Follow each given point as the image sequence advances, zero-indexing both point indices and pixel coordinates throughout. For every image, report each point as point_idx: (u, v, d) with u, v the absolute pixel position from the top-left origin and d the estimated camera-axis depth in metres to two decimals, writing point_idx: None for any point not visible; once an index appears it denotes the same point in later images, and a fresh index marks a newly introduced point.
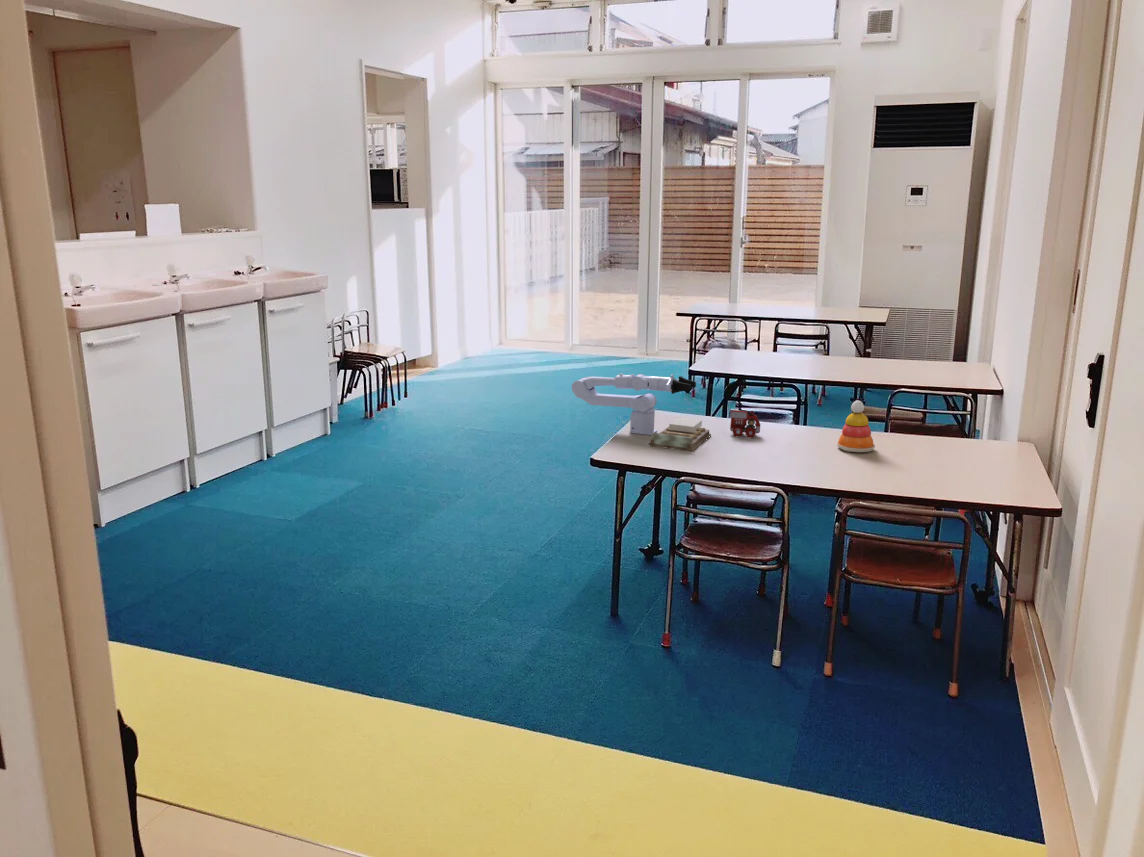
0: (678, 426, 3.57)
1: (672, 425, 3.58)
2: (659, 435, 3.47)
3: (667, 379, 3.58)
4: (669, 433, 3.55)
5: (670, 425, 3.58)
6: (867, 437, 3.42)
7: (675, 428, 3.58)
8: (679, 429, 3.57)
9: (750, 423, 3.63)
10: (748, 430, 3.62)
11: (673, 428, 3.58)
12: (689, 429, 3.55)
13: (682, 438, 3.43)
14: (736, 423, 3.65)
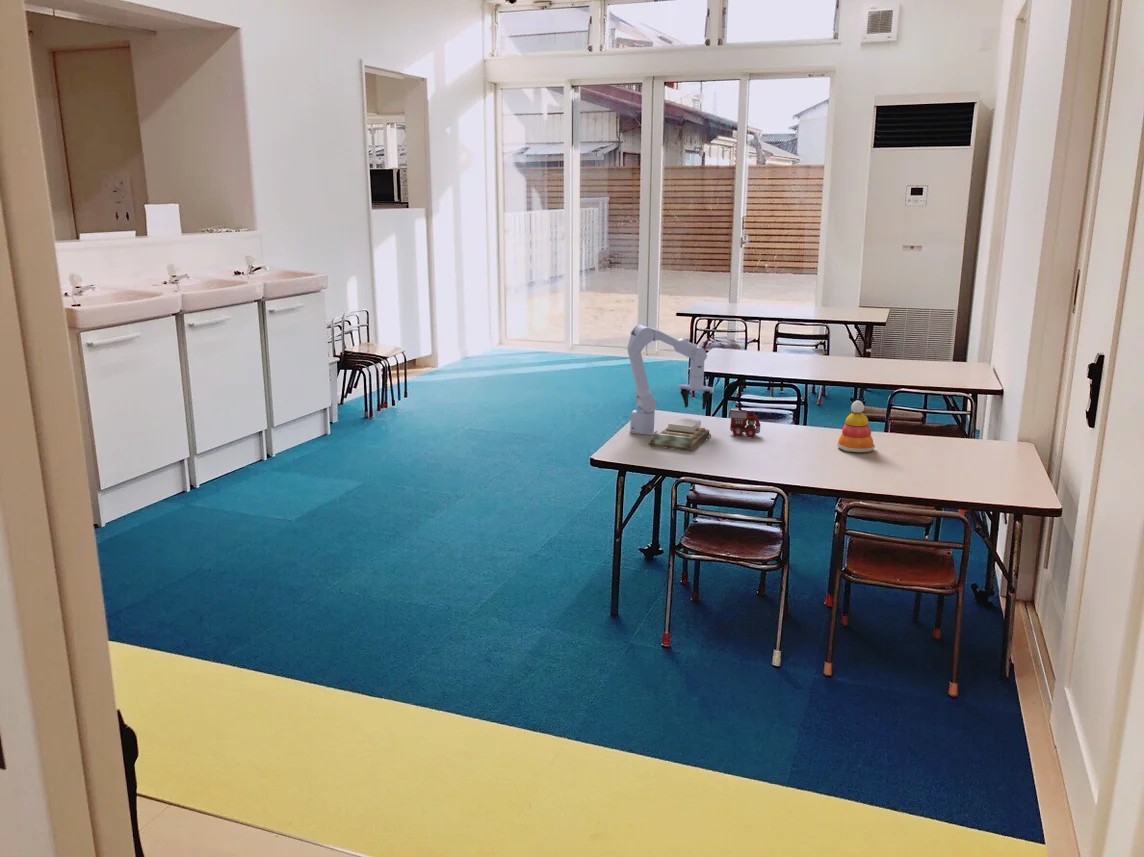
0: (677, 426, 3.57)
1: (671, 425, 3.58)
2: (659, 435, 3.47)
3: None
4: (669, 433, 3.55)
5: (669, 425, 3.58)
6: (867, 437, 3.42)
7: (674, 428, 3.58)
8: (678, 429, 3.57)
9: (750, 423, 3.63)
10: (748, 430, 3.62)
11: (672, 428, 3.58)
12: (688, 429, 3.55)
13: (682, 438, 3.43)
14: (736, 423, 3.65)
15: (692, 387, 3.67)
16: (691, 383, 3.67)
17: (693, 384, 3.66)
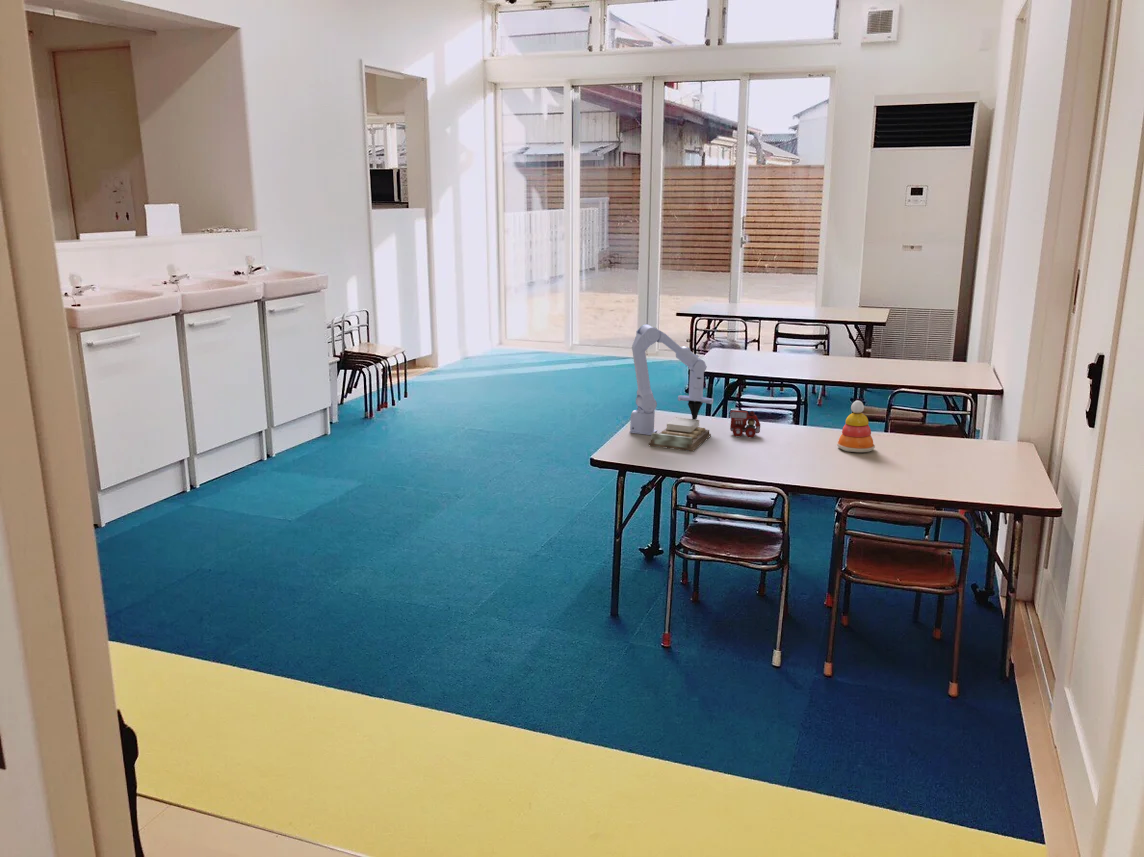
0: (675, 426, 3.57)
1: (669, 425, 3.58)
2: (659, 435, 3.47)
3: None
4: (669, 433, 3.55)
5: (667, 425, 3.59)
6: (867, 437, 3.42)
7: (672, 428, 3.58)
8: (676, 429, 3.57)
9: (750, 423, 3.63)
10: (748, 430, 3.62)
11: (670, 428, 3.58)
12: (687, 429, 3.56)
13: (682, 438, 3.43)
14: (736, 423, 3.65)
15: (691, 398, 3.68)
16: (690, 394, 3.68)
17: (692, 395, 3.68)
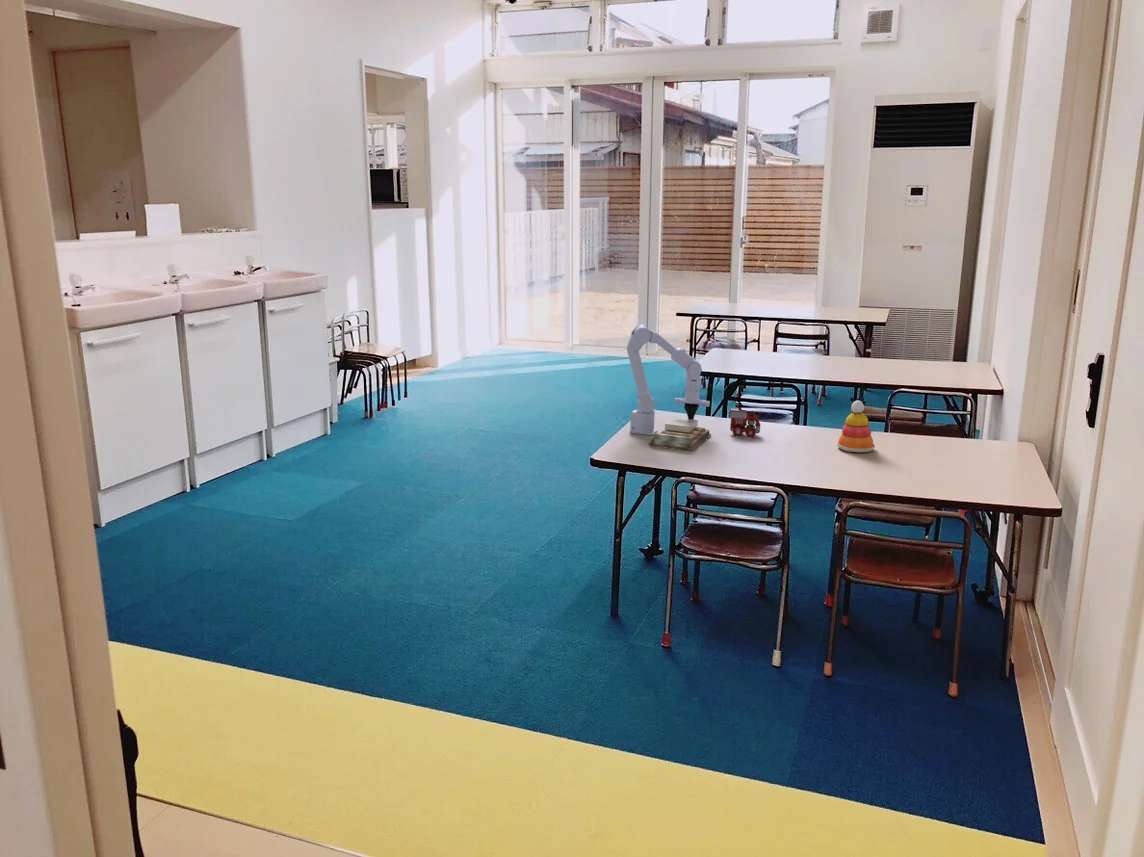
0: (674, 426, 3.57)
1: (668, 425, 3.58)
2: (659, 435, 3.47)
3: None
4: (669, 433, 3.55)
5: (666, 425, 3.58)
6: (867, 437, 3.42)
7: (671, 428, 3.58)
8: (675, 429, 3.57)
9: (750, 423, 3.63)
10: (748, 430, 3.62)
11: (669, 428, 3.58)
12: (685, 429, 3.55)
13: (682, 438, 3.43)
14: (736, 423, 3.65)
15: (688, 401, 3.63)
16: (687, 397, 3.64)
17: (689, 398, 3.63)
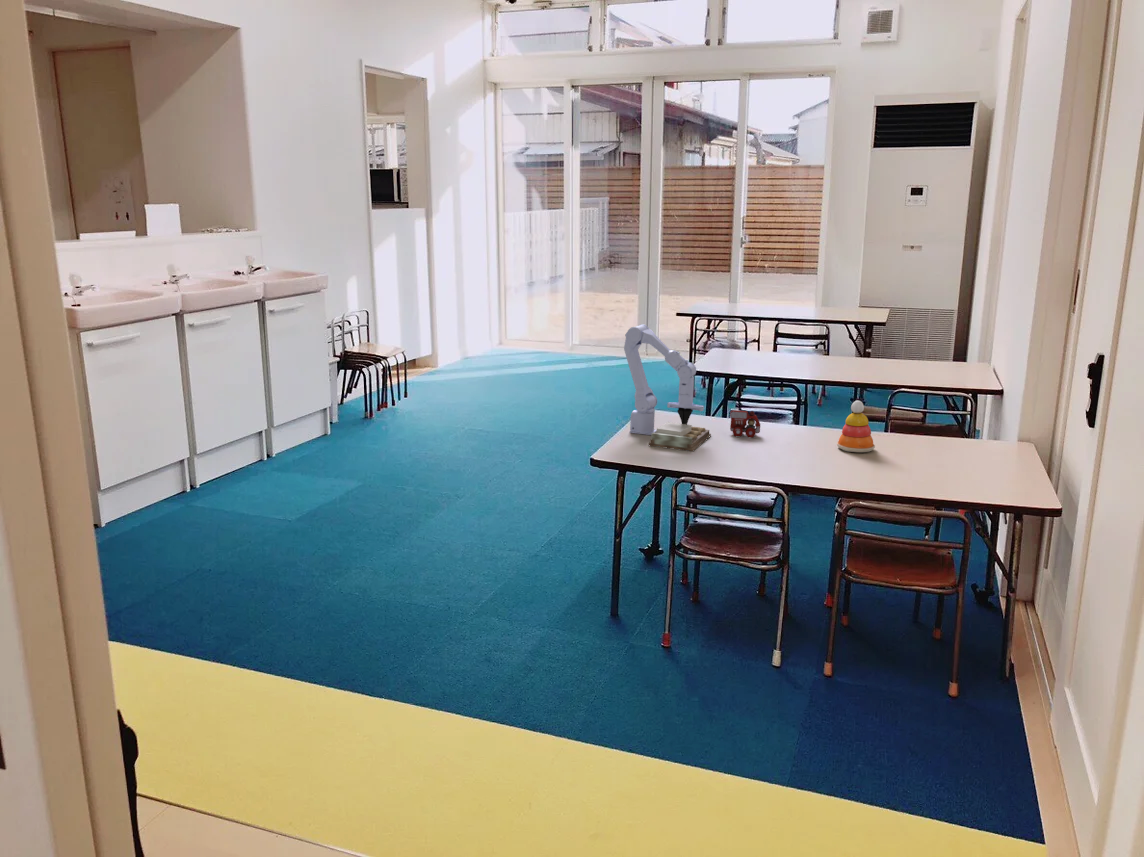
0: (665, 431, 3.50)
1: (659, 429, 3.51)
2: (659, 435, 3.47)
3: None
4: None
5: (657, 429, 3.51)
6: (867, 437, 3.42)
7: (662, 433, 3.50)
8: None
9: (750, 423, 3.63)
10: (748, 430, 3.62)
11: (660, 433, 3.51)
12: (676, 434, 3.48)
13: (682, 438, 3.43)
14: (736, 423, 3.65)
15: (681, 405, 3.56)
16: (680, 401, 3.56)
17: (682, 402, 3.55)
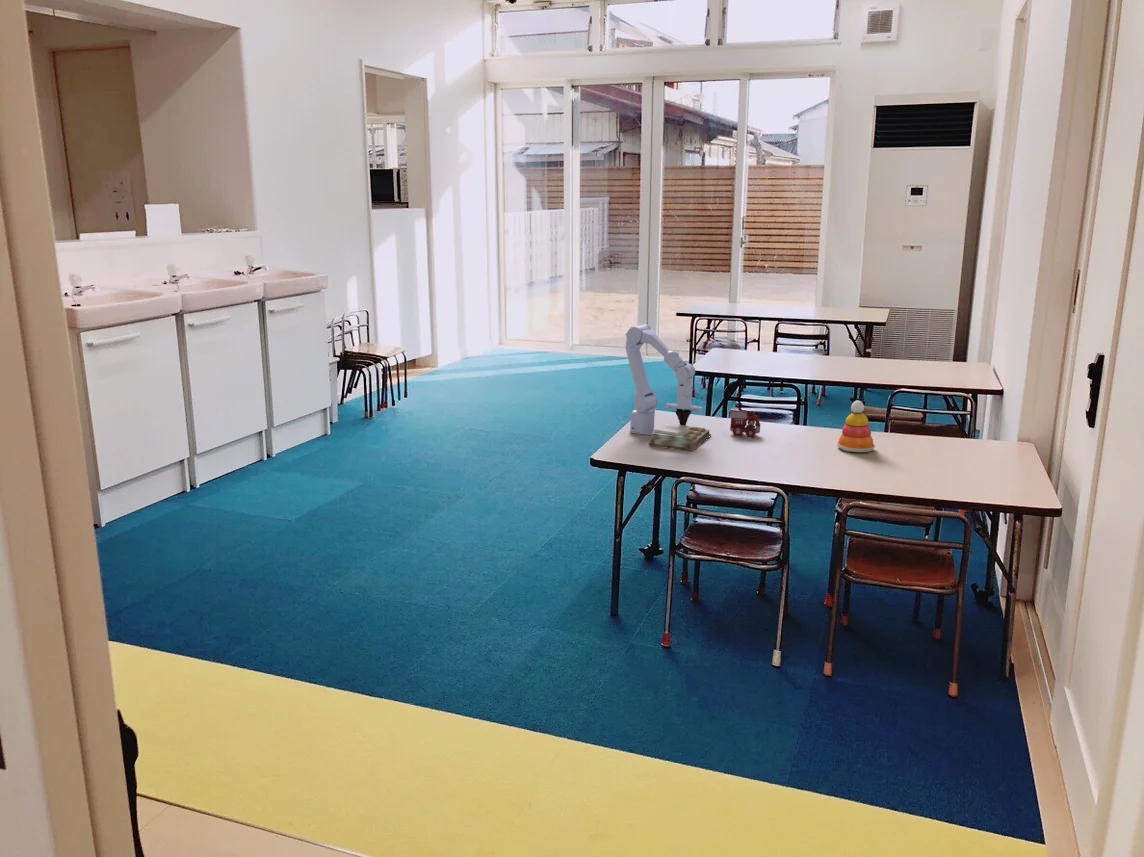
0: (663, 432, 3.48)
1: (657, 431, 3.49)
2: (659, 435, 3.47)
3: None
4: None
5: (655, 431, 3.50)
6: (867, 437, 3.42)
7: None
8: None
9: (750, 423, 3.63)
10: (748, 430, 3.62)
11: None
12: None
13: (682, 438, 3.43)
14: (736, 423, 3.65)
15: (680, 406, 3.54)
16: (679, 402, 3.54)
17: (681, 403, 3.53)
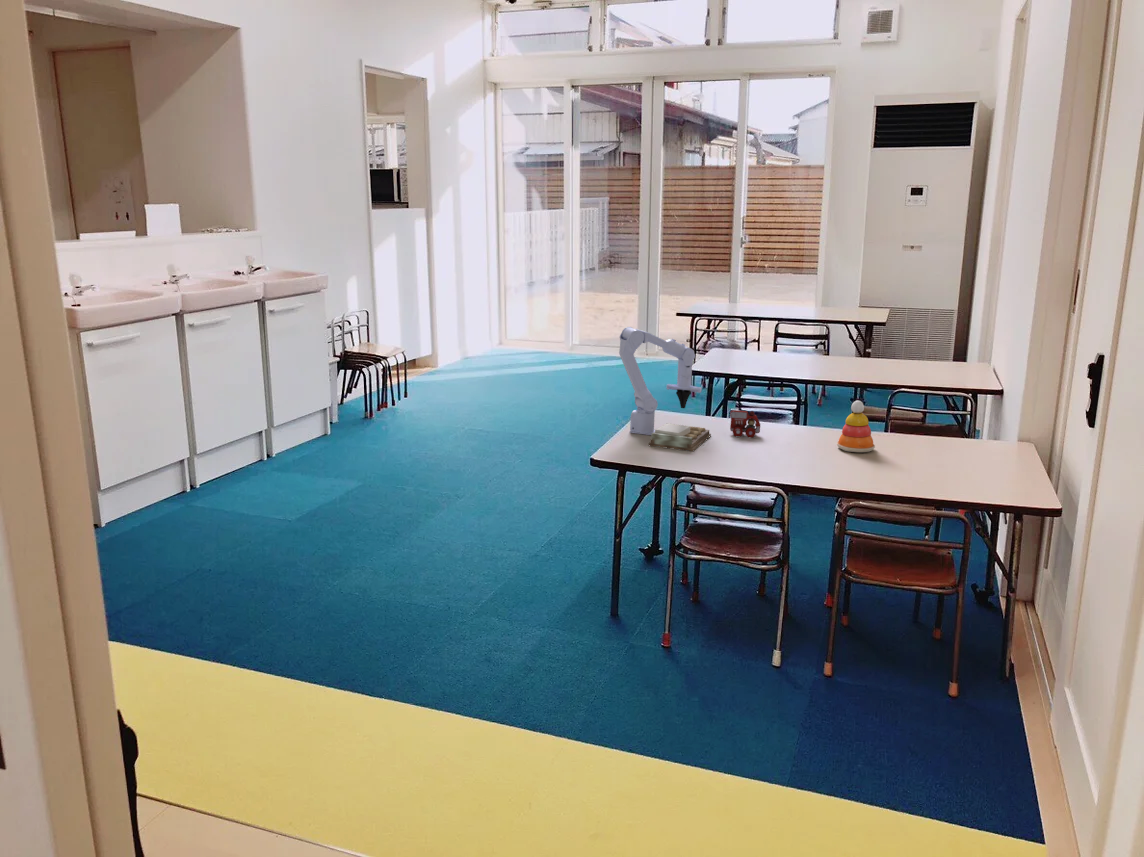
0: (664, 432, 3.48)
1: (658, 431, 3.49)
2: (659, 435, 3.47)
3: None
4: None
5: (656, 431, 3.49)
6: (867, 437, 3.42)
7: None
8: None
9: (750, 423, 3.63)
10: (748, 430, 3.62)
11: None
12: None
13: (682, 438, 3.43)
14: (736, 423, 3.65)
15: (680, 387, 3.68)
16: (679, 383, 3.68)
17: (681, 384, 3.67)
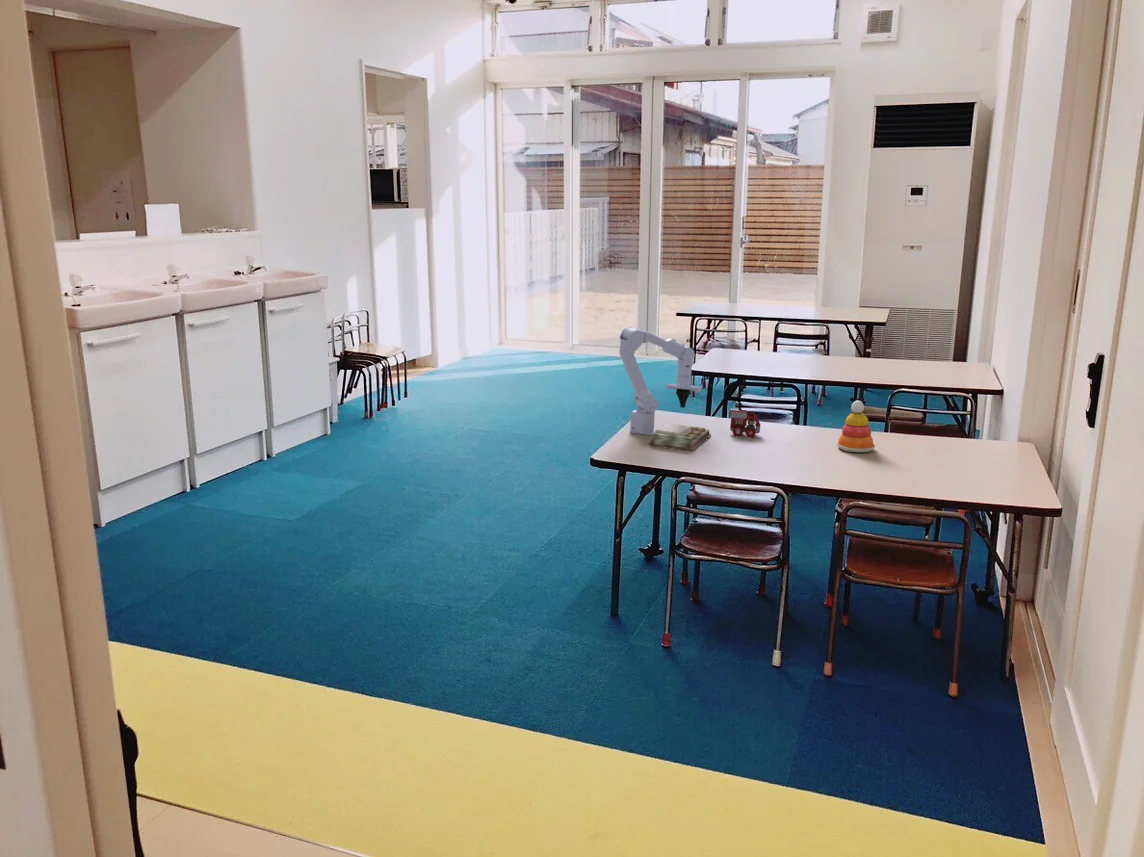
0: (664, 432, 3.48)
1: (658, 431, 3.49)
2: (659, 435, 3.47)
3: None
4: None
5: (656, 431, 3.49)
6: (867, 437, 3.42)
7: None
8: None
9: (750, 423, 3.63)
10: (748, 430, 3.62)
11: None
12: None
13: (682, 438, 3.43)
14: (736, 423, 3.65)
15: (680, 386, 3.68)
16: (679, 382, 3.68)
17: (681, 383, 3.67)
